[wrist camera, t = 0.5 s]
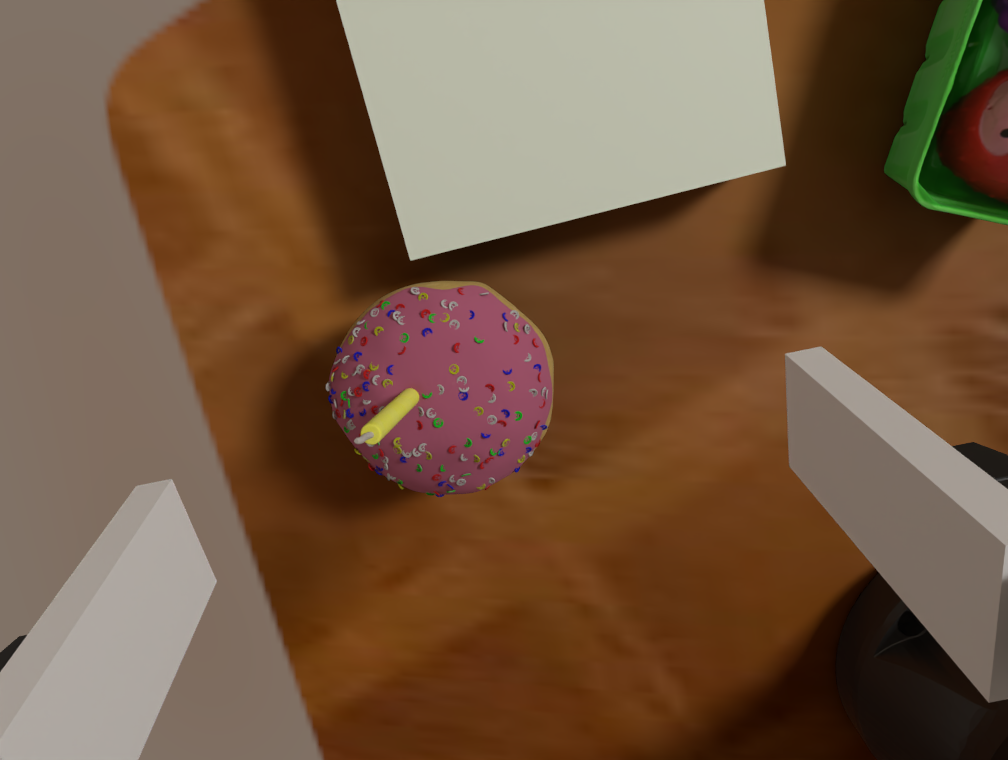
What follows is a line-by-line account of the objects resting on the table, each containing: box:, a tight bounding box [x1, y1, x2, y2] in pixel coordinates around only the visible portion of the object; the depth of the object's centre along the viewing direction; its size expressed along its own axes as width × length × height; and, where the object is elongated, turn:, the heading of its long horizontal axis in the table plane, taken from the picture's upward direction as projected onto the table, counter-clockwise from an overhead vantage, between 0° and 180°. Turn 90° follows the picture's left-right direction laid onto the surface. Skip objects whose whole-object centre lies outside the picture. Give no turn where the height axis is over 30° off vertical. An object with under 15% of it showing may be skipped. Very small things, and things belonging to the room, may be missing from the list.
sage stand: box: [336, 0, 786, 261], centre depth 27 cm, size 14×14×4 cm
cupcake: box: [326, 281, 554, 497], centre depth 27 cm, size 9×8×12 cm
